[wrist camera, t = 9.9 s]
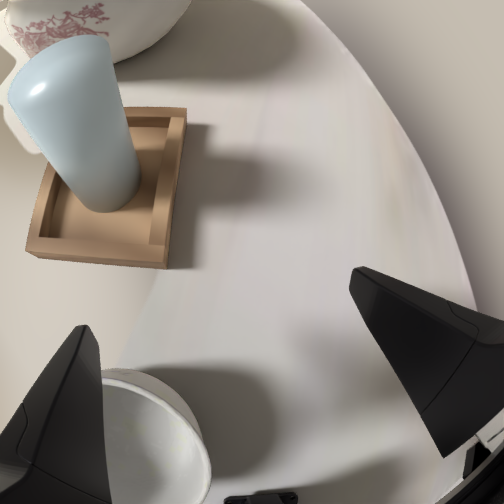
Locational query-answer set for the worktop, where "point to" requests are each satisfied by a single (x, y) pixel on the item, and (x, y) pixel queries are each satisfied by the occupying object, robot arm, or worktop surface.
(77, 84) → the pale blue rounded cylinder
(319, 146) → the worktop surface
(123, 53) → the chamber pot
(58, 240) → the tray
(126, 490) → the teacup
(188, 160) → the worktop surface
